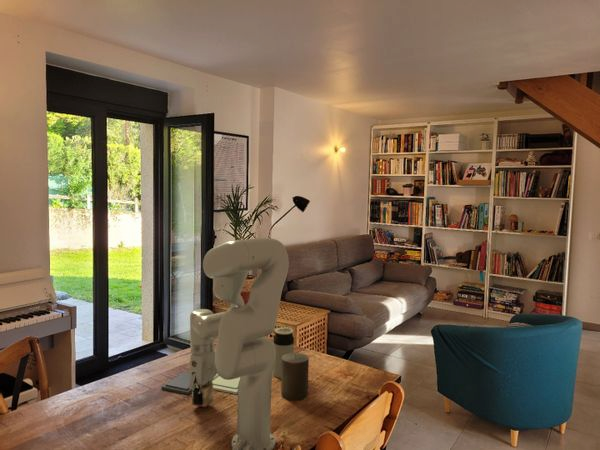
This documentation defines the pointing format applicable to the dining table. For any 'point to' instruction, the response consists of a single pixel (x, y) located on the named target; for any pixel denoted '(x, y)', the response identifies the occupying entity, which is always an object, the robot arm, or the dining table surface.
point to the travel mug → (282, 347)
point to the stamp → (205, 394)
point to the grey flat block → (179, 384)
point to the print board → (225, 384)
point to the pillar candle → (294, 376)
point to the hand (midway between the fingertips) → (202, 400)
